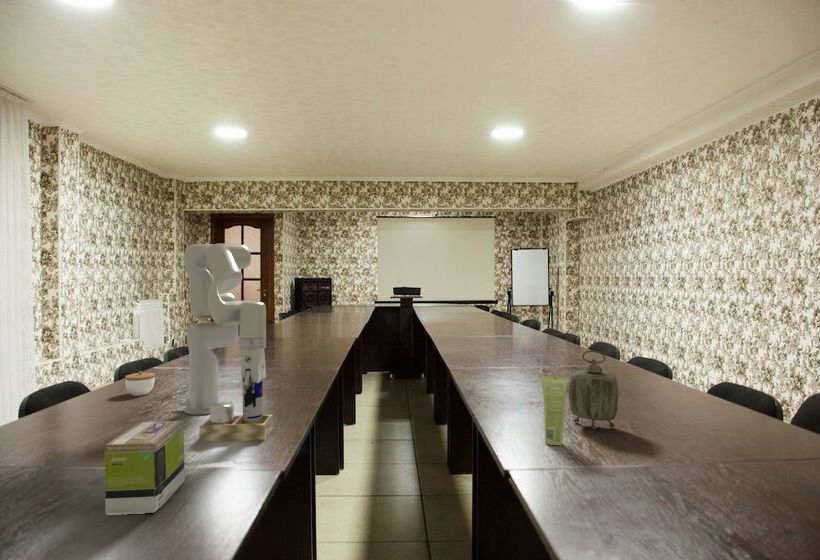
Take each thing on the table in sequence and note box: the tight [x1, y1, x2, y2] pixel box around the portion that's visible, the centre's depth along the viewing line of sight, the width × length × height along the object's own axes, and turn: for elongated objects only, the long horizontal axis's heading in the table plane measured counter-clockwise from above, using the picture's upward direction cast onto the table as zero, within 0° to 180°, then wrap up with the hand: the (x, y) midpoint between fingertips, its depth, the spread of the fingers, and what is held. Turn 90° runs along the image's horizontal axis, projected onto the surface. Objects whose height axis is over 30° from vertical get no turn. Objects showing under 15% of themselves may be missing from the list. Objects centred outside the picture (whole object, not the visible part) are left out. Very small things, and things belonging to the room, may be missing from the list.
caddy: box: [198, 414, 274, 443], centre depth 137 cm, size 18×10×6 cm, turn 94°
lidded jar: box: [124, 370, 156, 397], centre depth 190 cm, size 11×11×9 cm
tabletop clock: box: [568, 349, 619, 430], centre depth 148 cm, size 14×9×25 cm, turn 65°
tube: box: [541, 375, 569, 446], centre depth 134 cm, size 6×5×20 cm
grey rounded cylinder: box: [210, 401, 235, 425], centre depth 136 cm, size 6×6×9 cm
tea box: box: [104, 420, 186, 515], centre depth 99 cm, size 15×10×15 cm, turn 5°
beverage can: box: [242, 378, 264, 421], centre depth 137 cm, size 6×6×15 cm
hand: (252, 403), depth 137 cm, fingers closed on beverage can, 4 cm apart
